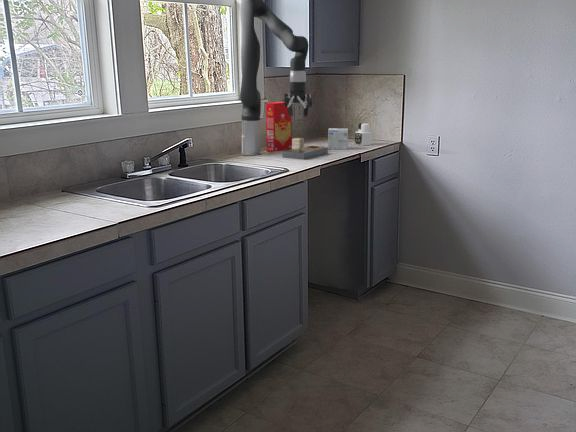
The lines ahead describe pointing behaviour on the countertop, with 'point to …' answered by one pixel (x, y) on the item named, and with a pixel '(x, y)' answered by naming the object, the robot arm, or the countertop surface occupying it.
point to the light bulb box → (338, 138)
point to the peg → (298, 145)
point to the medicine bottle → (363, 135)
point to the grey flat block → (306, 152)
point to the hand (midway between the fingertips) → (298, 116)
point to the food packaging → (278, 127)
